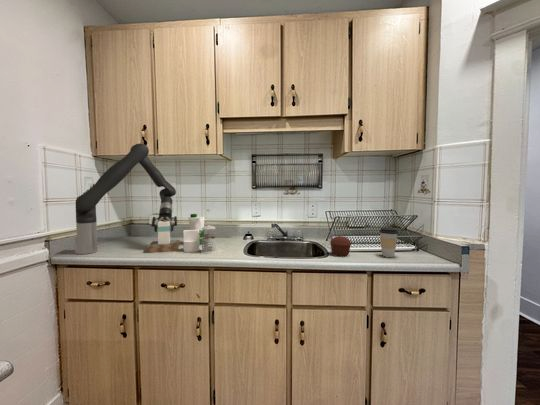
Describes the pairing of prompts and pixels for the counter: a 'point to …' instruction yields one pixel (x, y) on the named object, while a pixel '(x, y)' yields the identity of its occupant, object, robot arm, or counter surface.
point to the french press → (208, 240)
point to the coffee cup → (388, 241)
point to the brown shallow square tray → (163, 246)
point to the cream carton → (164, 232)
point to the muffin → (340, 246)
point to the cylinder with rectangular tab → (191, 240)
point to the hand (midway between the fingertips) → (163, 231)
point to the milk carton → (197, 225)
